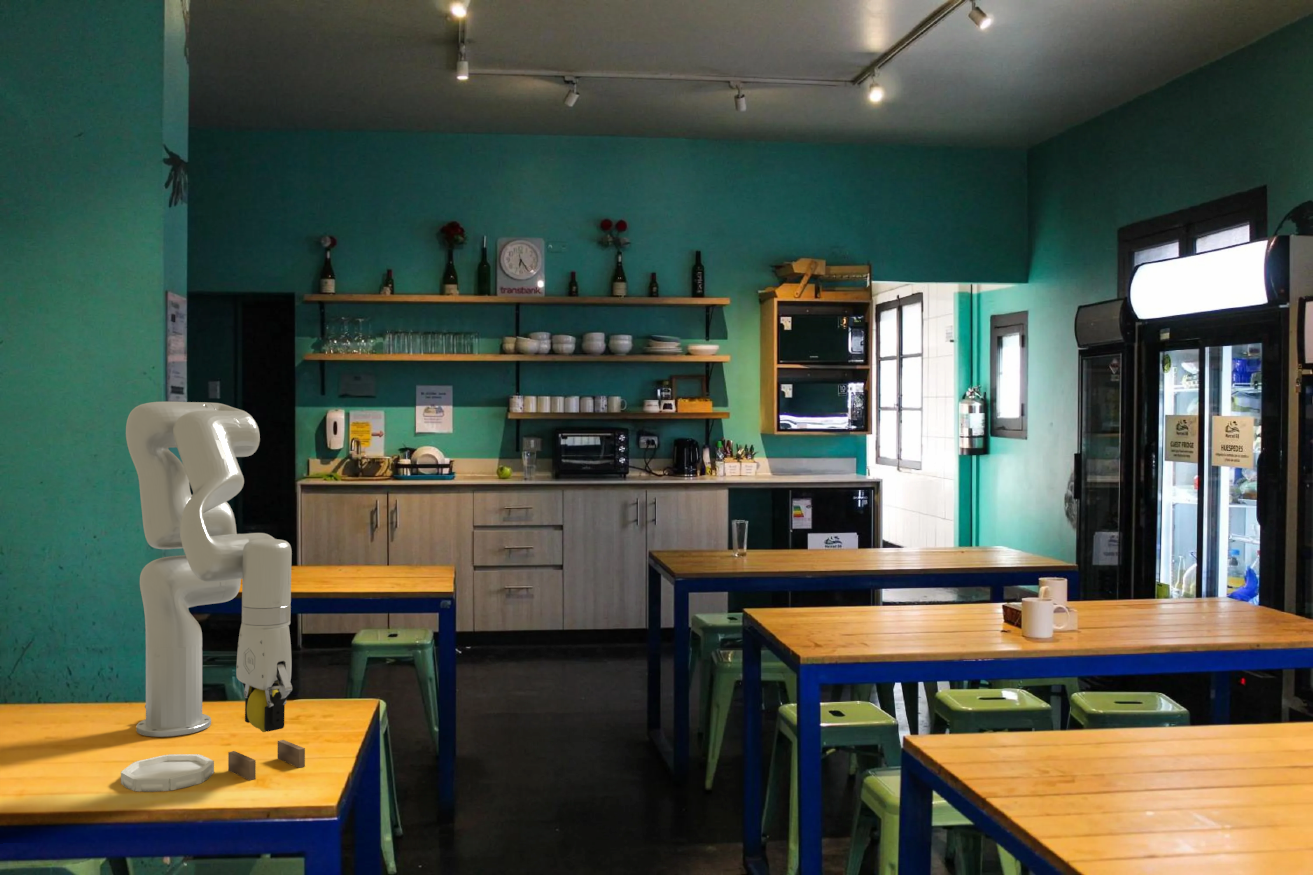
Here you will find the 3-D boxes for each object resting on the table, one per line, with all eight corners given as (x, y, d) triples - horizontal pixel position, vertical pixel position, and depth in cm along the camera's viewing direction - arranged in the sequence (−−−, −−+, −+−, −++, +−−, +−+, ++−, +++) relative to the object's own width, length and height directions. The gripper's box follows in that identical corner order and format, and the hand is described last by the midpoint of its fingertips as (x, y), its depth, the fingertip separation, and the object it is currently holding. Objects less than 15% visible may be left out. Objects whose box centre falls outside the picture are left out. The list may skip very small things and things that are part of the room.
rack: (228, 770, 178) (228, 752, 178) (283, 757, 185) (283, 739, 185) (249, 780, 173) (249, 761, 173) (304, 766, 180) (304, 748, 180)
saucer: (109, 778, 174) (108, 766, 174) (189, 759, 184) (190, 748, 184) (143, 797, 165) (143, 785, 165) (227, 777, 175) (227, 765, 175)
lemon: (270, 738, 176) (271, 689, 176) (239, 735, 178) (240, 686, 177) (288, 728, 182) (289, 680, 182) (258, 725, 183) (259, 678, 183)
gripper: (219, 610, 182) (217, 718, 183) (271, 627, 170) (269, 742, 171) (261, 604, 188) (259, 709, 188) (315, 620, 176) (312, 732, 177)
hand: (264, 723), depth 180 cm, fingers closed on lemon, 5 cm apart
